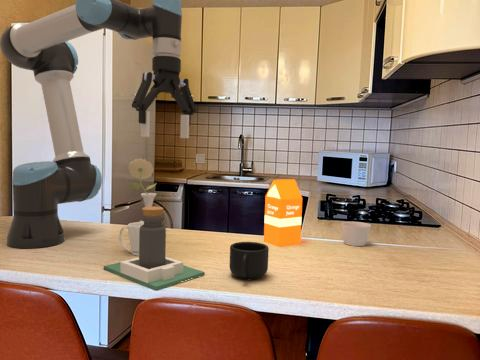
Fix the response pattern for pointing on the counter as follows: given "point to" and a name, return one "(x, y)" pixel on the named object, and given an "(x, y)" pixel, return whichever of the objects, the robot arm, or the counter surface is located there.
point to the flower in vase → (142, 171)
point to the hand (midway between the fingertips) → (165, 137)
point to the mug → (249, 259)
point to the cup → (132, 237)
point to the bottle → (152, 238)
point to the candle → (355, 233)
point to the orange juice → (283, 213)
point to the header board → (154, 273)
